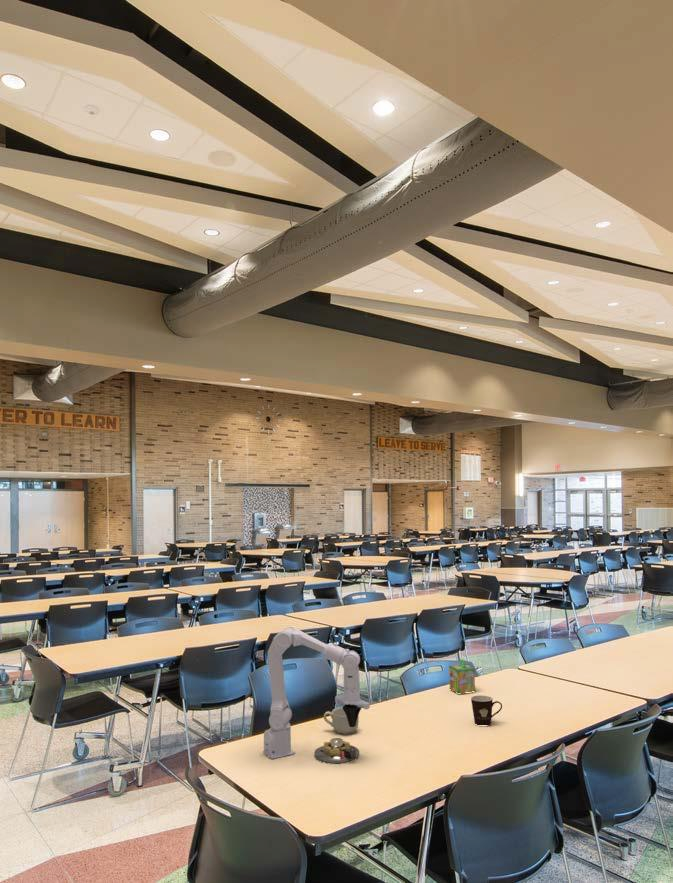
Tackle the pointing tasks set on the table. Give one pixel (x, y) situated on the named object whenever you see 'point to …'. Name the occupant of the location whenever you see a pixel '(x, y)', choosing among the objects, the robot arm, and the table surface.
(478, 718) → the coffee mug
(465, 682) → the green patterned box
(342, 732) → the teacup
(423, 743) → the table surface
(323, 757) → the cap plate
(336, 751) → the gold handled ring
